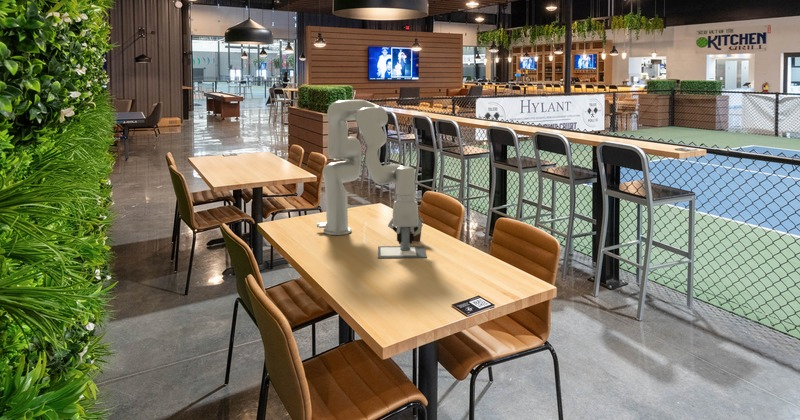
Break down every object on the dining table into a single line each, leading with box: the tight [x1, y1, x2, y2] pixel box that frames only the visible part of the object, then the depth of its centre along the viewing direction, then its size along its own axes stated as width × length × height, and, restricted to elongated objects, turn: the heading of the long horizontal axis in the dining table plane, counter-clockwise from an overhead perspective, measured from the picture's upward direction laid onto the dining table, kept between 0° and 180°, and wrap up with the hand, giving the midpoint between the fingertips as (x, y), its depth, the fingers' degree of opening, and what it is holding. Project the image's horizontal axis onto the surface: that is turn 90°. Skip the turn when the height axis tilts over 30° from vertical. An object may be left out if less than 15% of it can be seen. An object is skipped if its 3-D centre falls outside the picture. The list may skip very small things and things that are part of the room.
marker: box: [399, 227, 411, 251], centre depth 233 cm, size 4×4×13 cm
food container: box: [397, 216, 424, 243], centre depth 249 cm, size 12×6×10 cm, turn 84°
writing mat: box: [377, 245, 428, 259], centre depth 232 cm, size 19×15×1 cm
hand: (405, 242), depth 234 cm, fingers closed on marker, 3 cm apart
